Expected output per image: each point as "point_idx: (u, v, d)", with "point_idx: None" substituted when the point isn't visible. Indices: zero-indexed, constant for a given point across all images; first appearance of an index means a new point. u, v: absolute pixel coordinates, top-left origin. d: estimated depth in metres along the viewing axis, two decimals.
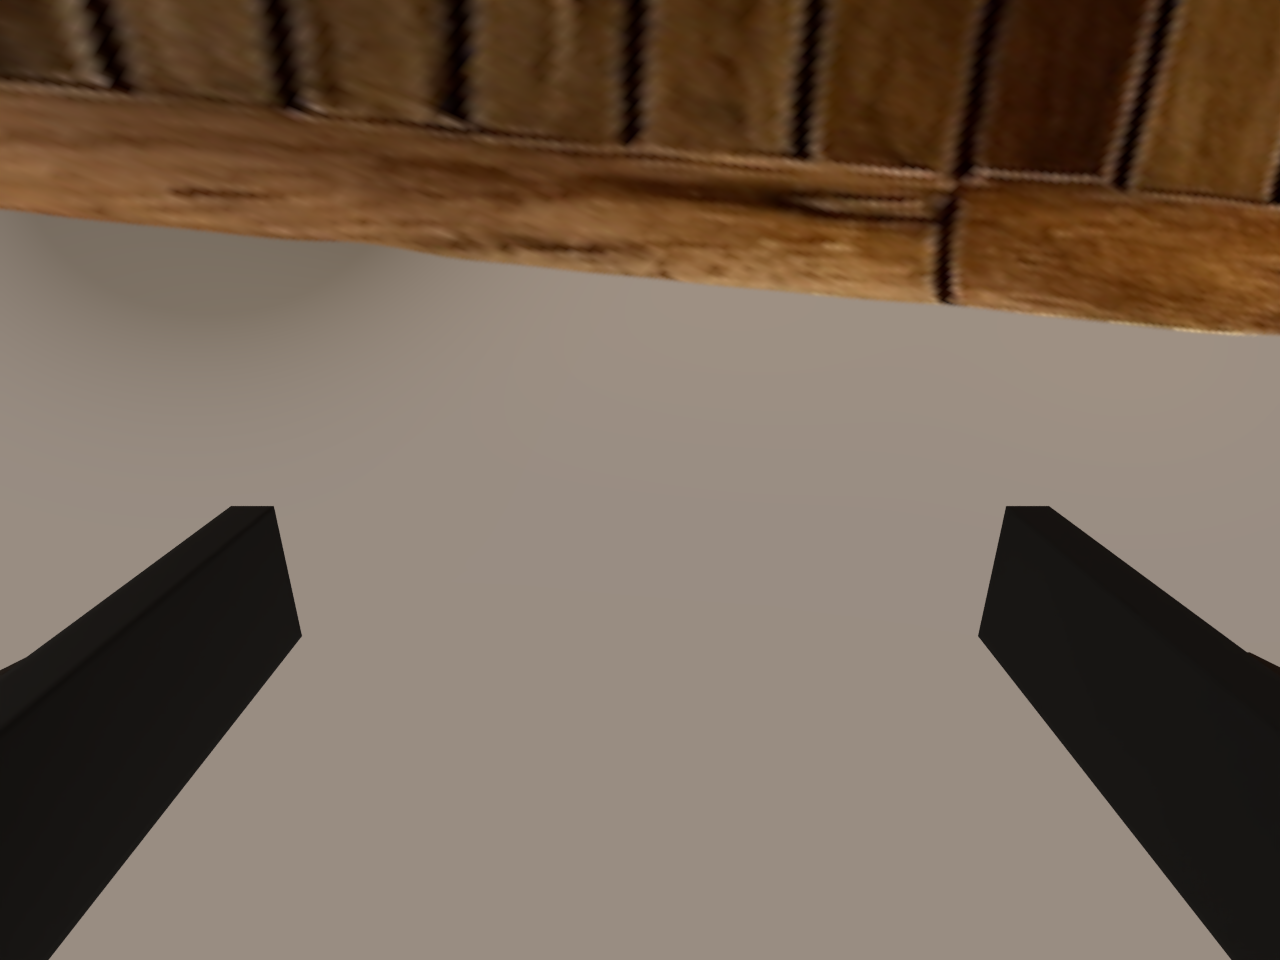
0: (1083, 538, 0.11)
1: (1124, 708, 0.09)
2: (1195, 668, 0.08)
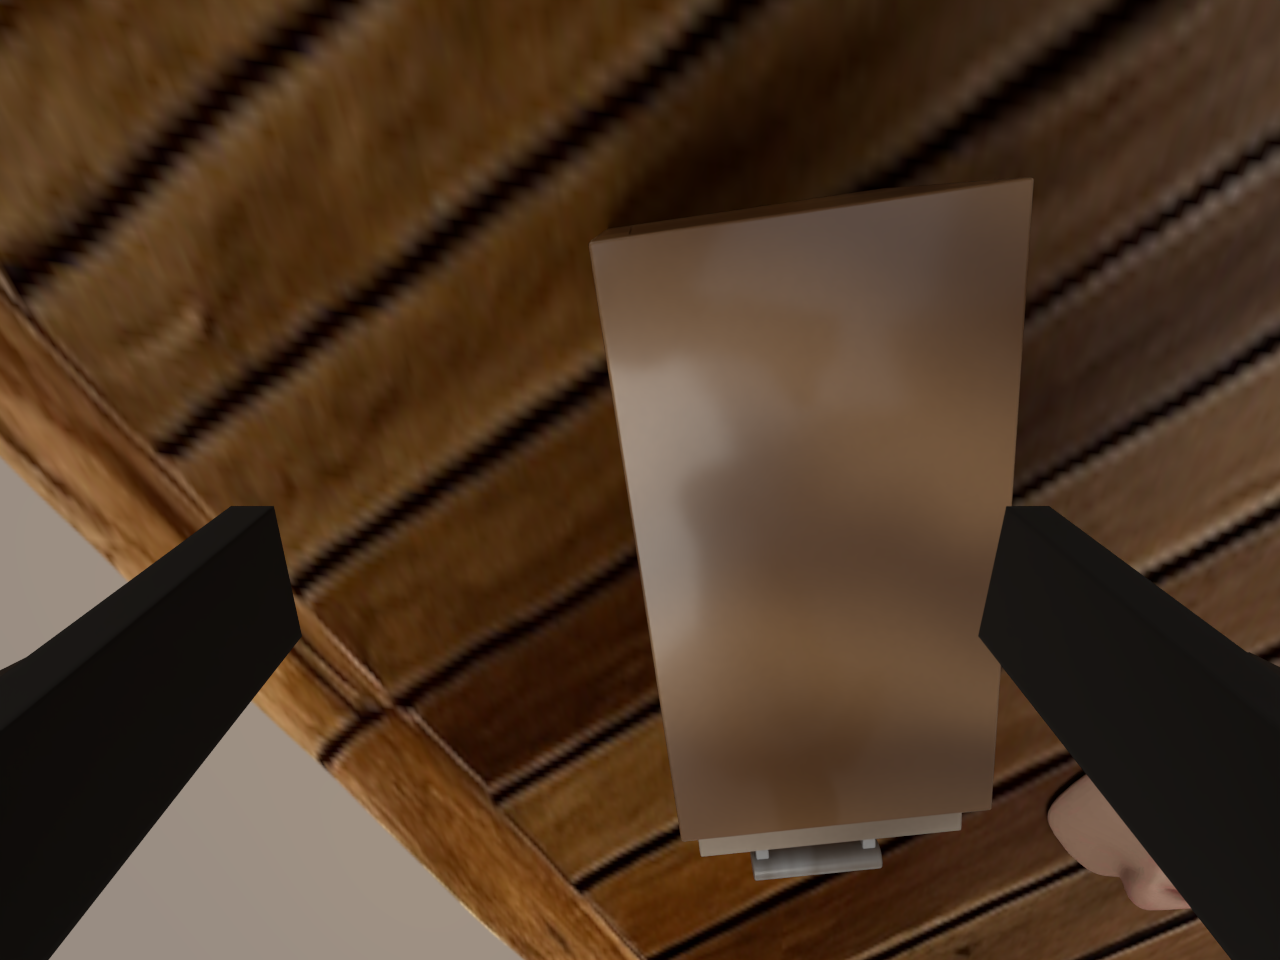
0: (1083, 538, 0.11)
1: (1123, 708, 0.09)
2: (1195, 668, 0.08)
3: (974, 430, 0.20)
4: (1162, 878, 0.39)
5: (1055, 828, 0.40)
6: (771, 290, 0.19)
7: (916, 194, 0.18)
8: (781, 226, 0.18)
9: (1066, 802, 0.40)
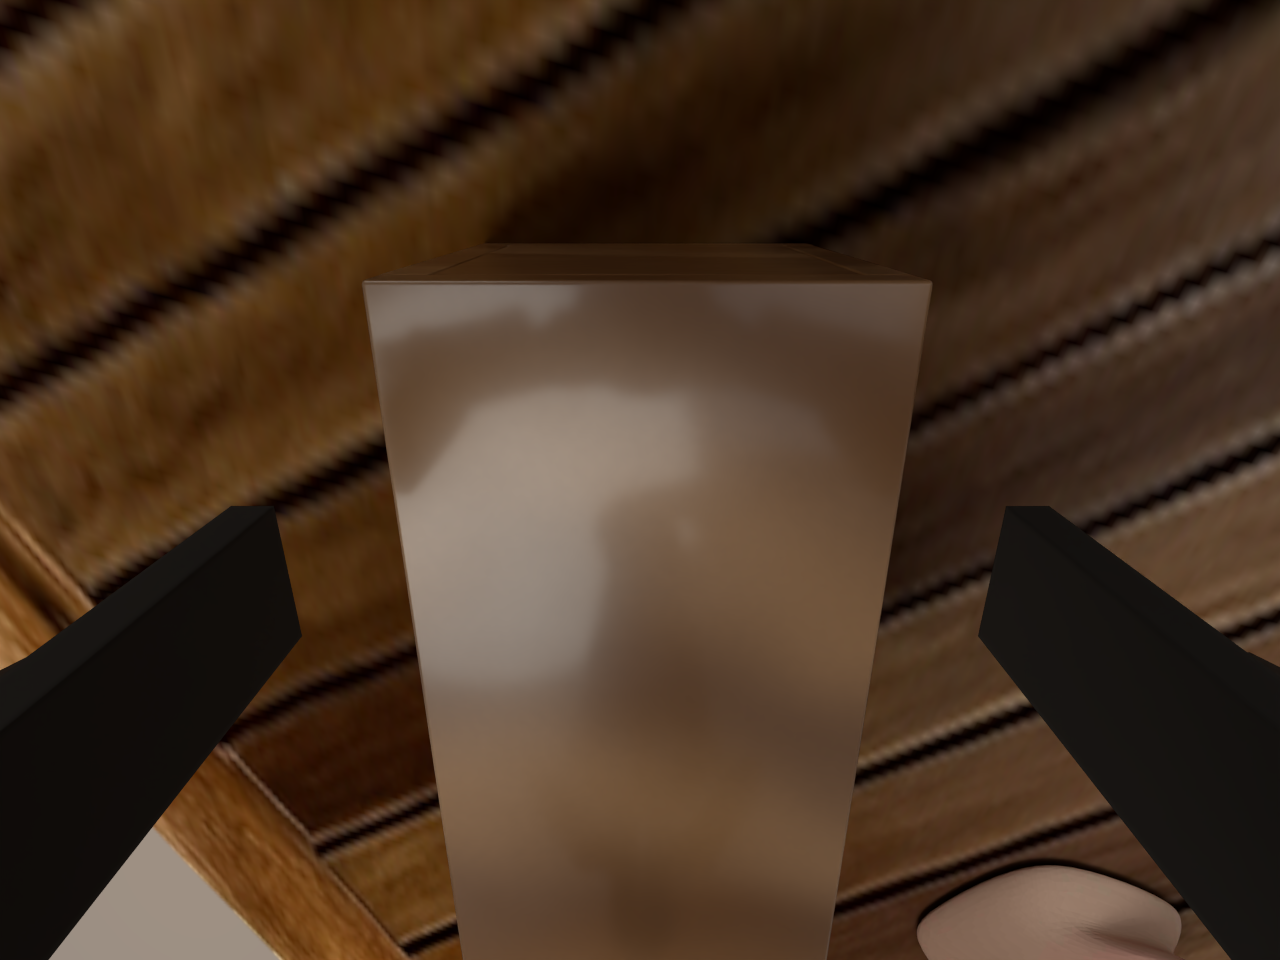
0: (1083, 538, 0.11)
1: (1123, 707, 0.09)
2: (1195, 668, 0.08)
3: (835, 570, 0.16)
4: None
5: (923, 944, 0.38)
6: (595, 373, 0.15)
7: (785, 280, 0.14)
8: (611, 297, 0.14)
9: (937, 919, 0.37)
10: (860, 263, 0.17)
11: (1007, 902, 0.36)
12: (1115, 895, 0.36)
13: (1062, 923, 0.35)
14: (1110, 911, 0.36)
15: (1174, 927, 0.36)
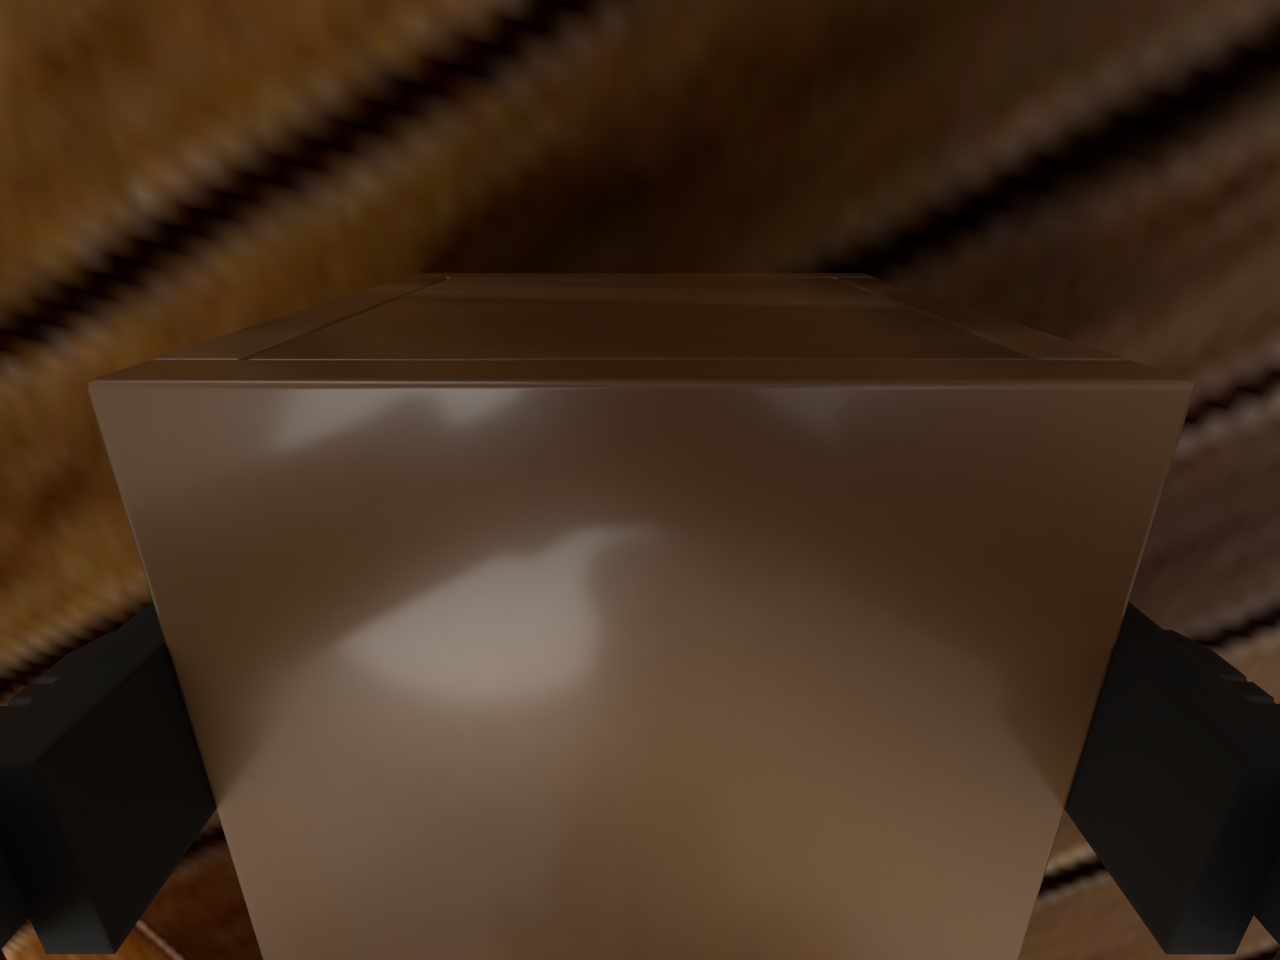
0: None
1: None
2: None
3: (964, 849, 0.10)
4: None
5: None
6: (545, 544, 0.08)
7: (909, 380, 0.07)
8: (573, 412, 0.07)
9: None
10: (991, 322, 0.11)
11: None
12: None
13: None
14: None
15: None
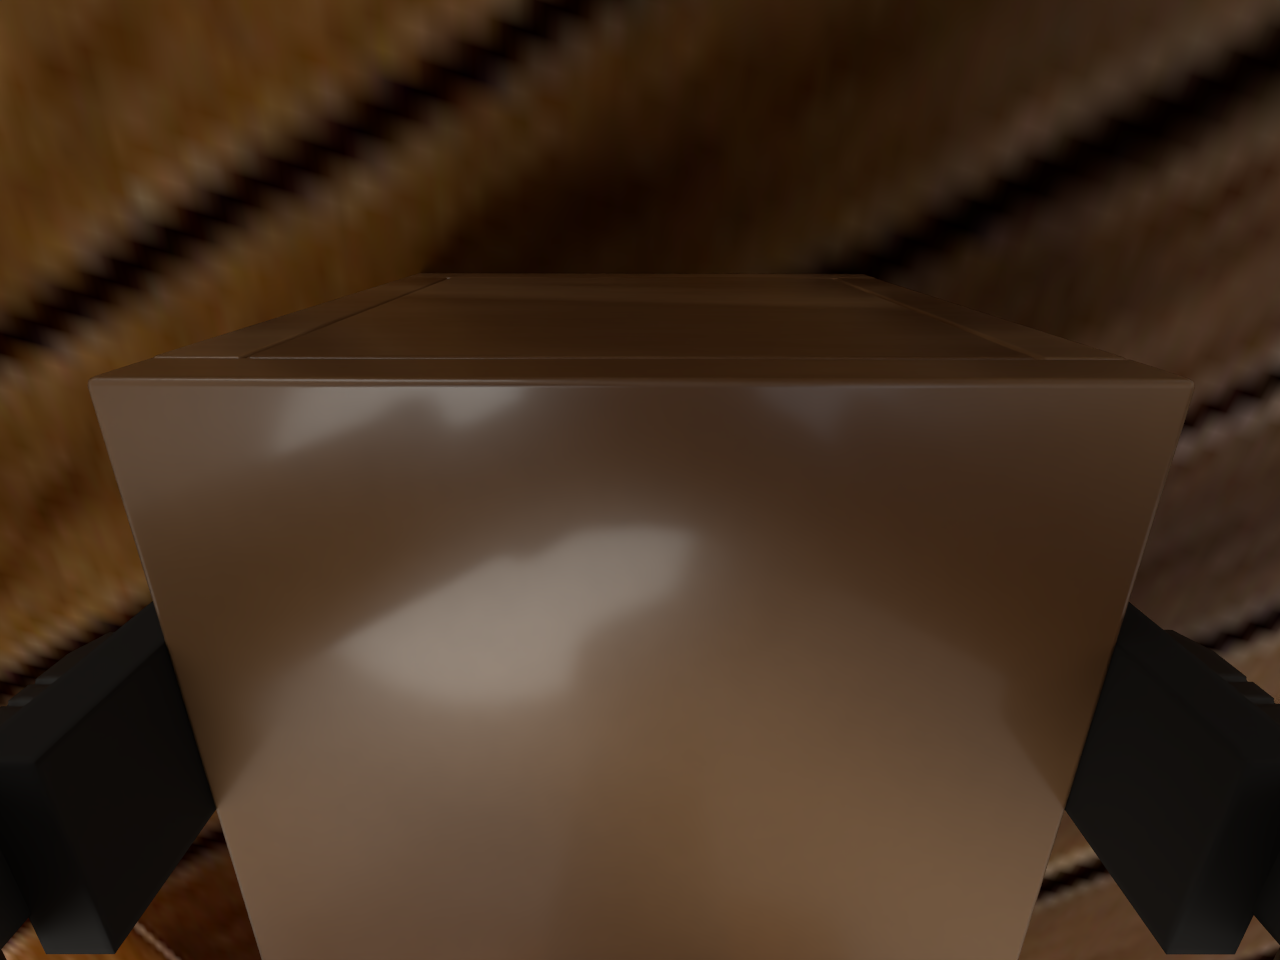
0: None
1: None
2: None
3: (964, 849, 0.10)
4: None
5: None
6: (545, 543, 0.08)
7: (910, 379, 0.07)
8: (573, 409, 0.07)
9: None
10: (991, 322, 0.11)
11: None
12: None
13: None
14: None
15: None
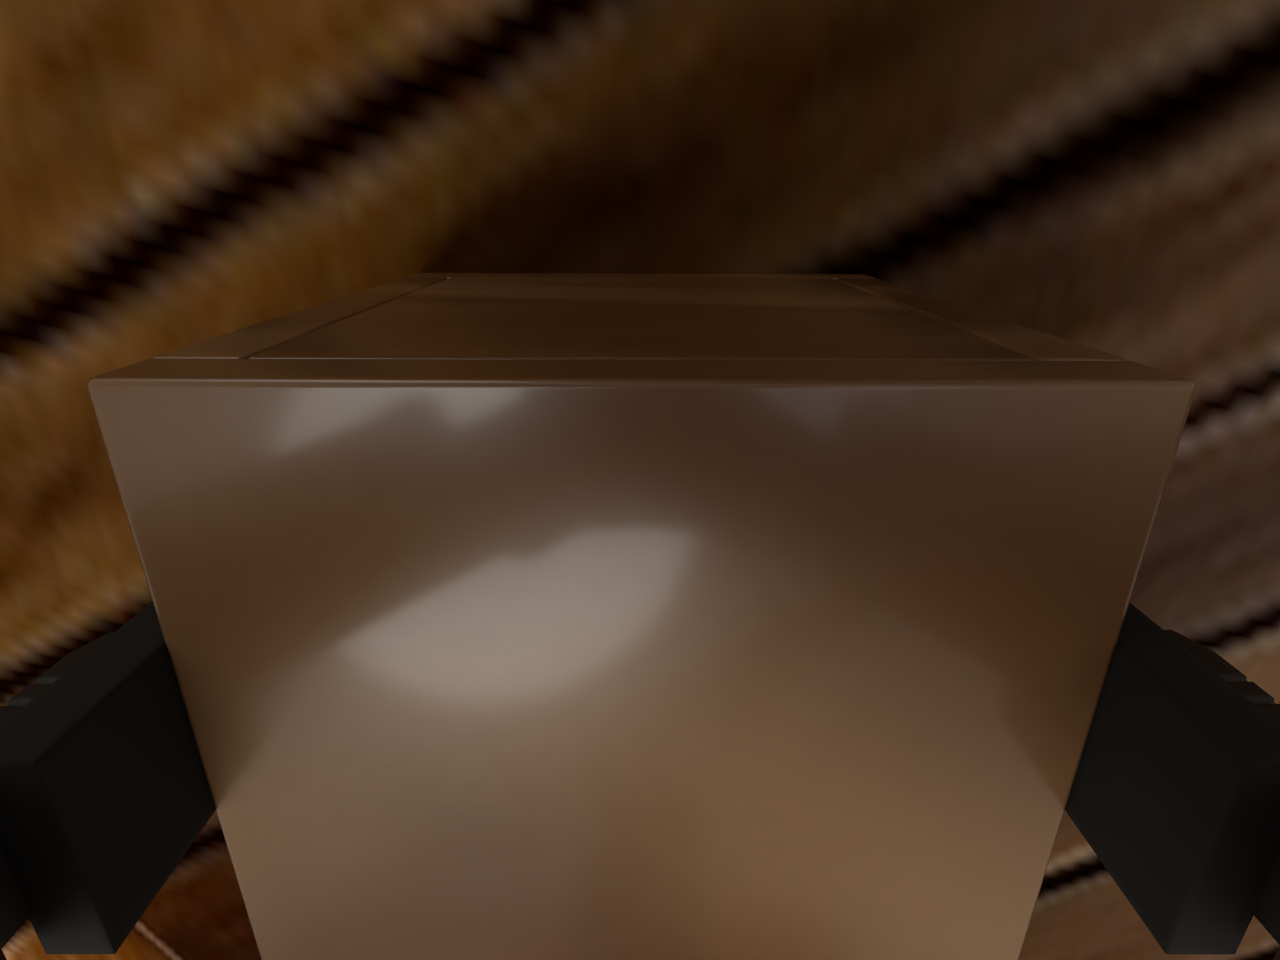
0: None
1: None
2: None
3: (964, 850, 0.10)
4: None
5: None
6: (545, 544, 0.08)
7: (910, 380, 0.07)
8: (573, 411, 0.07)
9: None
10: (991, 322, 0.11)
11: None
12: None
13: None
14: None
15: None
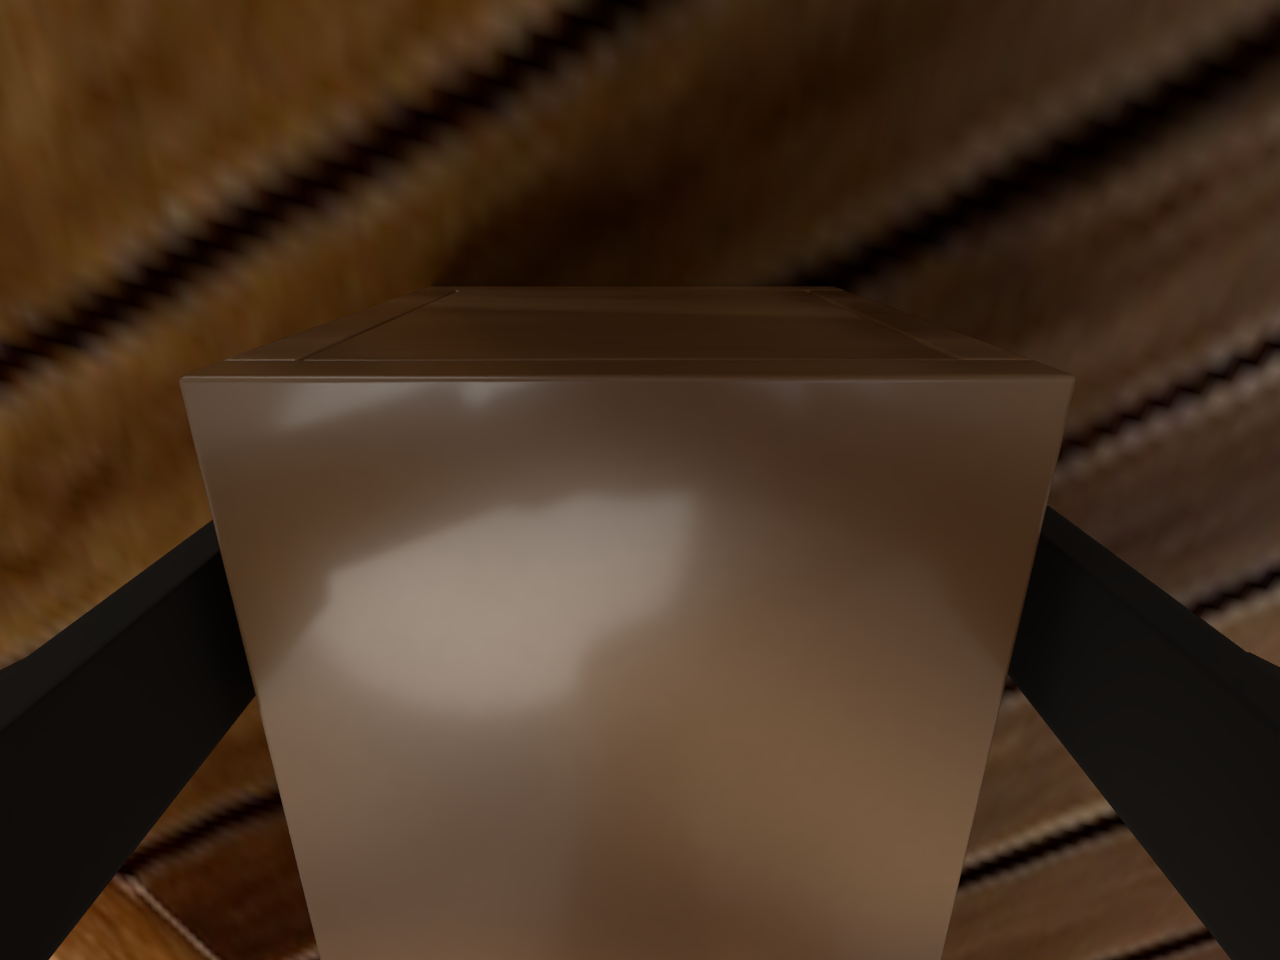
0: (1083, 538, 0.11)
1: (1124, 708, 0.09)
2: (1195, 668, 0.08)
3: (908, 778, 0.11)
4: None
5: None
6: (551, 512, 0.09)
7: (846, 375, 0.09)
8: (574, 401, 0.09)
9: None
10: (931, 329, 0.12)
11: None
12: None
13: None
14: None
15: None
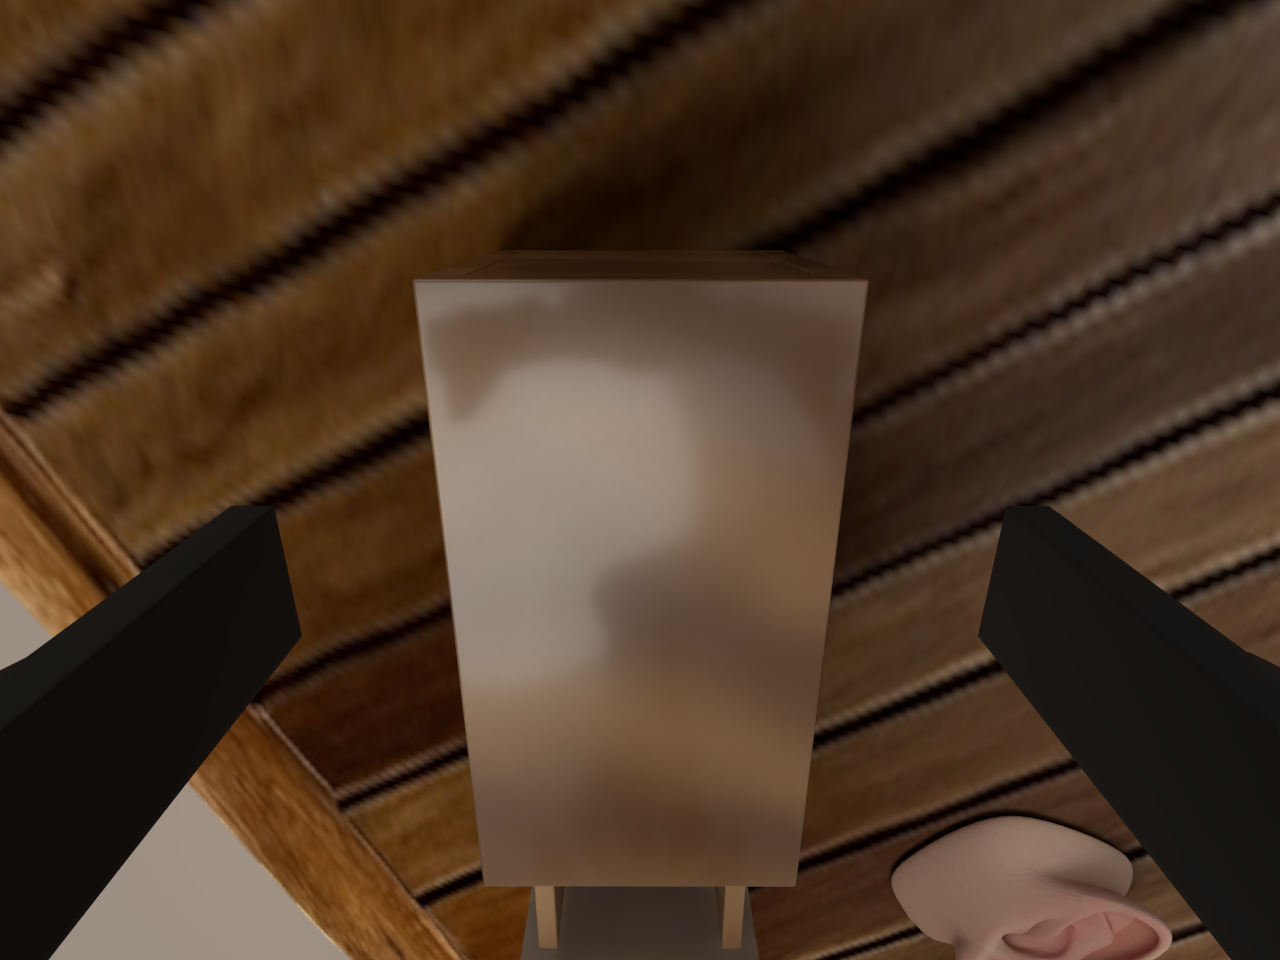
0: (1083, 538, 0.11)
1: (1123, 708, 0.09)
2: (1195, 668, 0.08)
3: (797, 519, 0.20)
4: (989, 952, 0.39)
5: (897, 892, 0.41)
6: (599, 354, 0.18)
7: (751, 279, 0.17)
8: (612, 292, 0.17)
9: (909, 868, 0.40)
10: (818, 266, 0.21)
11: (972, 850, 0.39)
12: (1071, 843, 0.39)
13: (1022, 868, 0.39)
14: (1066, 858, 0.39)
15: (1125, 873, 0.40)
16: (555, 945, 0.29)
